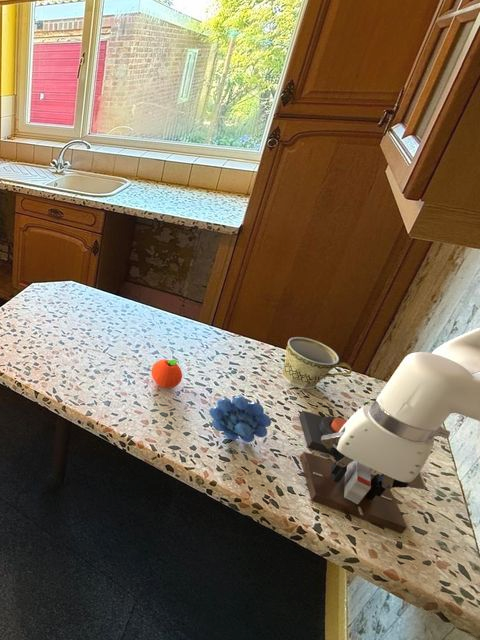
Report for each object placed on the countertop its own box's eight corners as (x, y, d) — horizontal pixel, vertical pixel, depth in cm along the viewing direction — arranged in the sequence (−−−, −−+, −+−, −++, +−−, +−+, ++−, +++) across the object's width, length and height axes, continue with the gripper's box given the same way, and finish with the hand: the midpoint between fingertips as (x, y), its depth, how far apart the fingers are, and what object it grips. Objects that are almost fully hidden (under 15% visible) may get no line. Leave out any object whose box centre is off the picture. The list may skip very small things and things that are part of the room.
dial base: (378, 480, 79) (384, 474, 78) (403, 538, 70) (410, 531, 69) (298, 454, 84) (302, 447, 83) (312, 504, 75) (317, 498, 74)
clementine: (162, 368, 106) (168, 347, 103) (186, 385, 101) (194, 364, 97) (142, 380, 102) (148, 359, 99) (167, 398, 97) (174, 376, 94)
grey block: (345, 468, 79) (357, 451, 76) (358, 475, 78) (371, 458, 75) (343, 497, 74) (356, 480, 71) (358, 504, 73) (371, 487, 70)
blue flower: (205, 448, 85) (222, 409, 79) (198, 422, 91) (214, 384, 85) (267, 462, 82) (290, 422, 77) (256, 435, 88) (276, 396, 82)
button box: (359, 435, 88) (367, 422, 86) (374, 469, 81) (383, 456, 79) (298, 416, 92) (305, 404, 90) (307, 447, 85) (315, 435, 83)
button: (349, 427, 86) (353, 421, 85) (354, 440, 83) (358, 434, 82) (328, 420, 87) (331, 415, 86) (333, 433, 84) (336, 427, 83)
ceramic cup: (271, 381, 102) (286, 351, 97) (276, 360, 109) (290, 331, 104) (336, 408, 95) (356, 377, 90) (337, 383, 101) (355, 353, 97)
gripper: (471, 433, 65) (412, 499, 73) (338, 381, 74) (299, 445, 83) (480, 465, 60) (415, 533, 68) (336, 405, 69) (295, 471, 78)
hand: (352, 484), depth 76 cm, fingers open, 4 cm apart
